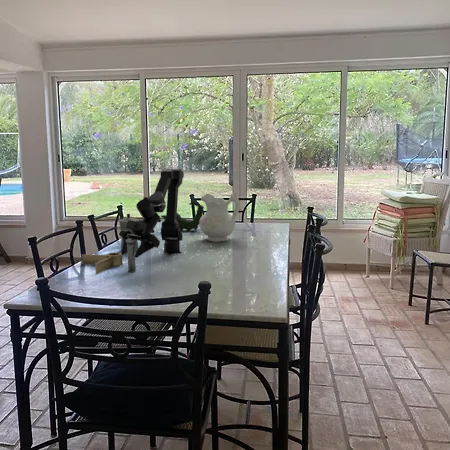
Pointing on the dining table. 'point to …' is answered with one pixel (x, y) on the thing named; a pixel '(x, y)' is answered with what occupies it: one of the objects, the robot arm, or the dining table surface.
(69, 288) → the dining table surface
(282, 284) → the dining table surface
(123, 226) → the coffeepot
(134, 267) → the hinge pin
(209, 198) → the ceramic pitcher
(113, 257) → the hinge
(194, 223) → the toy figurine
